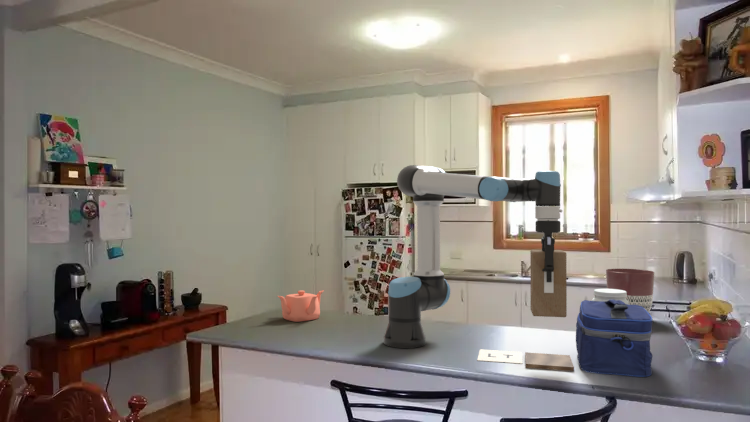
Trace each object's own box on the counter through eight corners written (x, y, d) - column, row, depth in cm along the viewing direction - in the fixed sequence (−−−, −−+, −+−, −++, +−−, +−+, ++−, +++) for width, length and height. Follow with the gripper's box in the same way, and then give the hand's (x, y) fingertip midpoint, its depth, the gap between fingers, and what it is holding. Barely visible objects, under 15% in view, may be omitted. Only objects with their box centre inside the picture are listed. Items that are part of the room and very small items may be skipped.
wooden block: (566, 317, 168) (566, 252, 168) (532, 316, 170) (532, 251, 170) (562, 311, 178) (562, 249, 178) (530, 310, 180) (530, 249, 180)
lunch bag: (659, 382, 155) (660, 310, 155) (580, 376, 161) (580, 306, 161) (640, 355, 185) (640, 294, 185) (573, 350, 191) (574, 291, 191)
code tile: (477, 360, 177) (477, 359, 177) (480, 349, 190) (480, 349, 190) (522, 363, 173) (522, 363, 173) (521, 352, 187) (521, 352, 187)
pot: (316, 323, 233) (317, 294, 233) (276, 322, 234) (276, 293, 234) (324, 315, 251) (324, 288, 251) (286, 314, 252) (286, 287, 252)
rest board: (525, 367, 169) (525, 363, 169) (525, 355, 183) (525, 352, 183) (574, 371, 166) (574, 367, 166) (569, 358, 179) (569, 355, 179)
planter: (658, 324, 232) (658, 274, 232) (608, 322, 238) (608, 272, 238) (649, 316, 251) (649, 269, 251) (603, 313, 257) (603, 267, 256)
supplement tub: (594, 334, 215) (594, 287, 215) (630, 338, 208) (630, 289, 208) (588, 341, 203) (589, 291, 203) (626, 345, 197) (627, 294, 197)
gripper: (563, 220, 162) (563, 296, 162) (557, 219, 184) (557, 285, 184) (536, 220, 164) (536, 295, 164) (534, 219, 186) (534, 285, 186)
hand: (547, 290), depth 174 cm, fingers closed on wooden block, 10 cm apart
